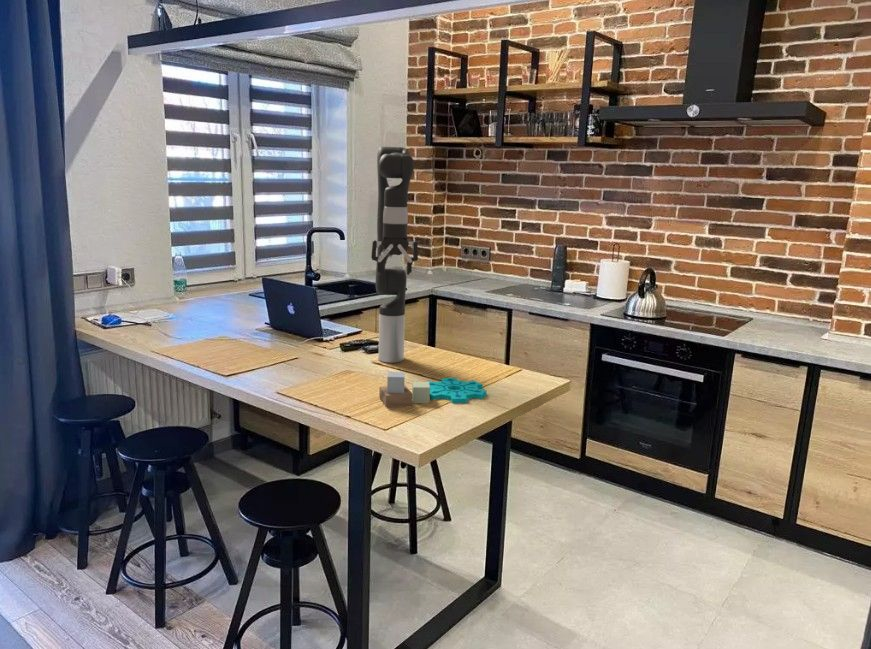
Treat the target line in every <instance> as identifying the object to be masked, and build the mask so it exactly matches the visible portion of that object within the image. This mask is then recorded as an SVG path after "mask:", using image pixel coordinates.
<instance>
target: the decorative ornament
mask: <svg viewBox="0 0 871 649" xmlns="http://www.w3.org/2000/svg"><path fill="white" fill-rule="evenodd" d="M426 382H429V385H430V400H434V401H435V400H439V399H443V400H447V401H448V400H450V401H451V404H468V400H469V399H470V400H471V399H479V400H483V399H484V398H485V397H486V396H487V392H488V391H487V389H483V383H481V382H479V381H477V380H469V381H464V380H459V379H458V378H457V377H442V380H440V381H436V382H435V381H429V380H427V381H426Z"/></svg>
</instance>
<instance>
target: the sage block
mask: <svg viewBox="0 0 871 649" xmlns="http://www.w3.org/2000/svg"><path fill="white" fill-rule="evenodd" d="M411 388H412V389H411V393H412V404H430V400H431V398H430V385H429V382H427V381H412V387H411Z"/></svg>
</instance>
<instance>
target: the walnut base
mask: <svg viewBox="0 0 871 649" xmlns="http://www.w3.org/2000/svg"><path fill="white" fill-rule="evenodd" d="M378 398H380V399H379V400H380V401H381V403H382V402H383V403H382V405H385V406H384V407H385V408H386V407H387V408H396V407H409V406H413V400H412V390H410V389H409V388H408V387H407V386H406V384H404V393H387V385H386V386H379V397H378Z"/></svg>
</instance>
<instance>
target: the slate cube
mask: <svg viewBox="0 0 871 649" xmlns="http://www.w3.org/2000/svg"><path fill="white" fill-rule="evenodd" d="M405 376H406V375H405V371H387V382H386V383H387V385H386V386H387V393H404V385H405V380H406V379H405Z"/></svg>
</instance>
